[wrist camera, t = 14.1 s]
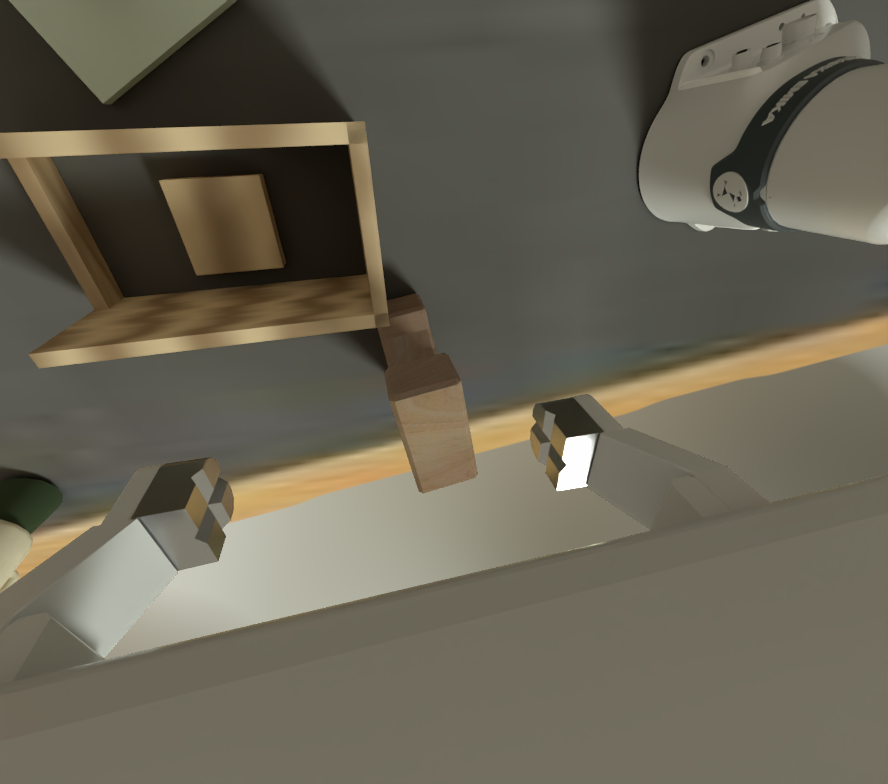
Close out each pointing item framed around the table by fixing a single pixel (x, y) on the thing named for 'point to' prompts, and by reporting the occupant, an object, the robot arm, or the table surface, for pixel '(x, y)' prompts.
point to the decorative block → (426, 399)
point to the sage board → (117, 35)
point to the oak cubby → (200, 246)
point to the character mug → (22, 520)
